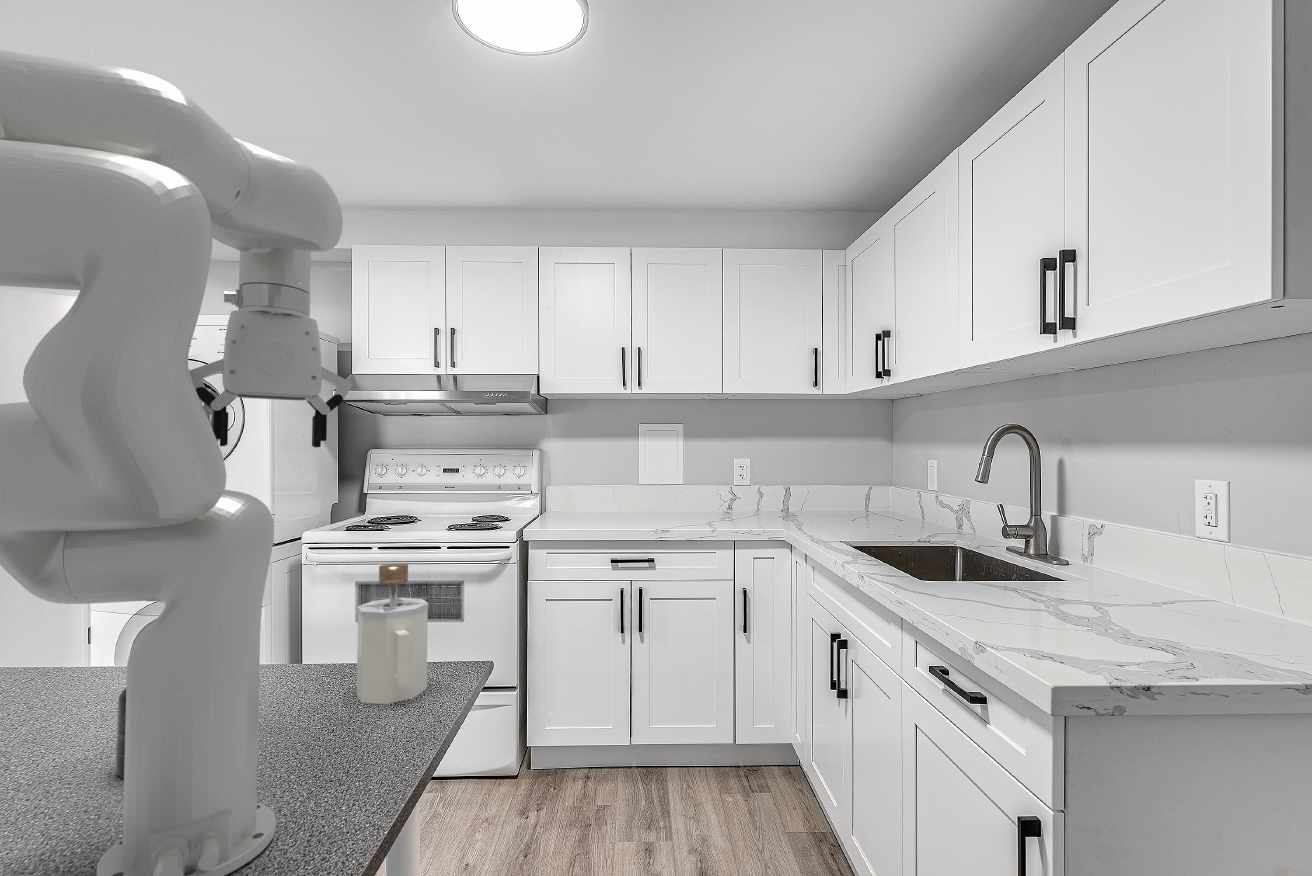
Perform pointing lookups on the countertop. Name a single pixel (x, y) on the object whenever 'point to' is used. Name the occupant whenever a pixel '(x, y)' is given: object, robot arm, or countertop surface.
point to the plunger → (393, 578)
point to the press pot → (392, 650)
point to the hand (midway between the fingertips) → (271, 446)
